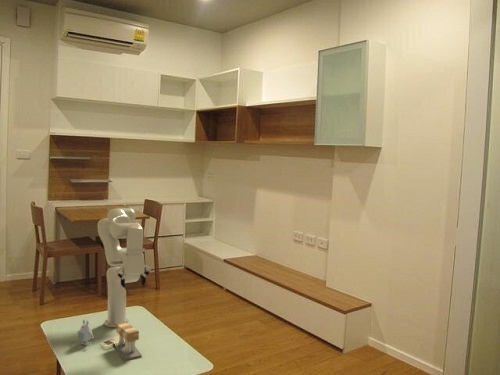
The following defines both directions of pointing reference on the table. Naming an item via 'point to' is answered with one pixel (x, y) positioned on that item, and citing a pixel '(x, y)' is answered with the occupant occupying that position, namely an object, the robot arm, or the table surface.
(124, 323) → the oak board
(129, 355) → the peg stand
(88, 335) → the toy figure
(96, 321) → the table surface
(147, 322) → the table surface
